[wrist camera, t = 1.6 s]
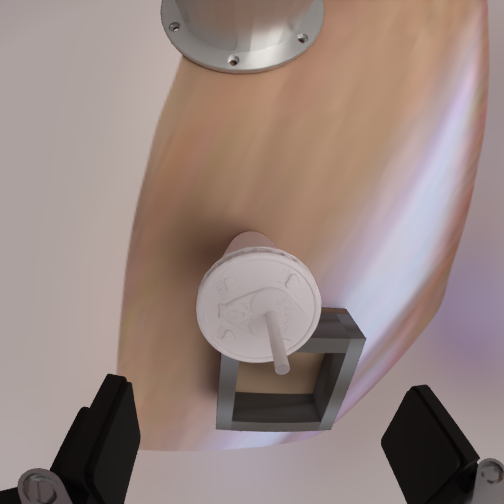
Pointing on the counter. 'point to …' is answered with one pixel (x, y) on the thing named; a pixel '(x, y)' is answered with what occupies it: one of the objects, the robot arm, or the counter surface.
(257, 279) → the smoothie
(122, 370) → the counter surface
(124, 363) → the counter surface
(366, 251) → the counter surface
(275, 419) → the frame
